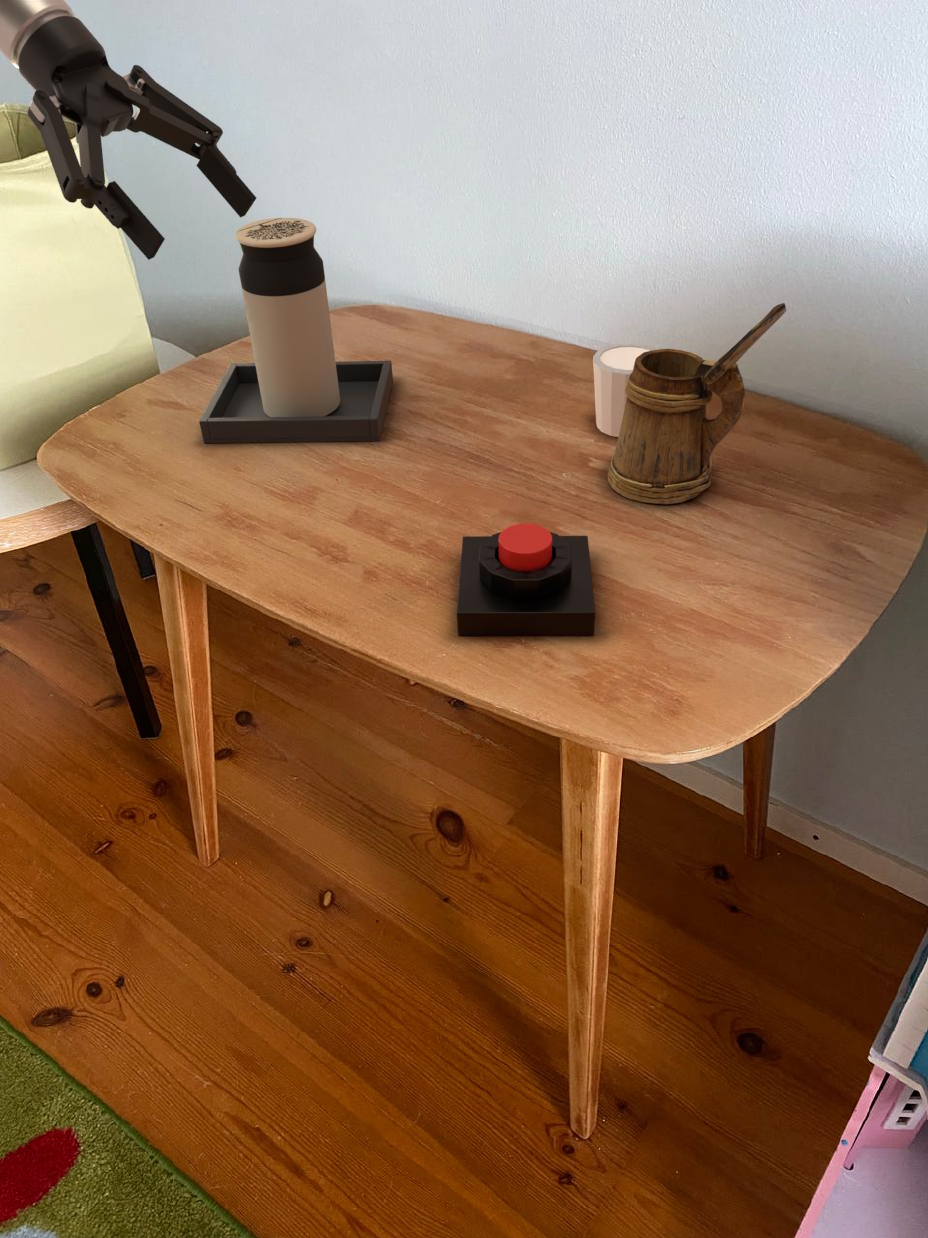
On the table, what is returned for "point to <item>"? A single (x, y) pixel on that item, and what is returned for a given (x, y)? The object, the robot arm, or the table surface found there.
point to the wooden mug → (677, 420)
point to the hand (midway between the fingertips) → (205, 227)
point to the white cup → (613, 384)
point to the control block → (525, 591)
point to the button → (525, 547)
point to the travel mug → (288, 317)
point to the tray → (245, 421)
